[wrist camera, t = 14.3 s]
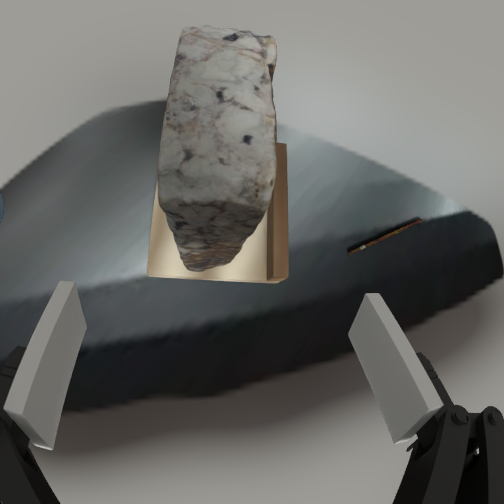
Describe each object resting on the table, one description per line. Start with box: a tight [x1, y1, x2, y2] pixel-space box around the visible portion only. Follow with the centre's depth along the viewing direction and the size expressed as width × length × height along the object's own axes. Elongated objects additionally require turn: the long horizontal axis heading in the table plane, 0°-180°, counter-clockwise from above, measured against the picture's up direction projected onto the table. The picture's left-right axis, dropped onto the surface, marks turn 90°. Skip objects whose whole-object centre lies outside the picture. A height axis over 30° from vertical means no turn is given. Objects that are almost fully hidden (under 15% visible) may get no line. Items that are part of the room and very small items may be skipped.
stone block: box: [157, 25, 277, 272], centre depth 25 cm, size 13×7×20 cm, turn 5°
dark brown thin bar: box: [348, 219, 423, 255], centre depth 43 cm, size 15×1×1 cm, turn 113°
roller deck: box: [147, 143, 288, 283], centre depth 35 cm, size 14×15×8 cm
